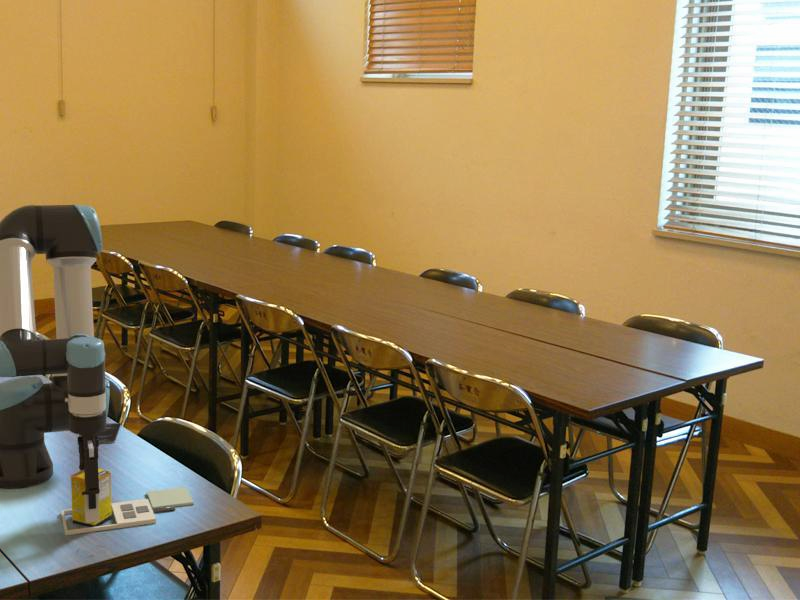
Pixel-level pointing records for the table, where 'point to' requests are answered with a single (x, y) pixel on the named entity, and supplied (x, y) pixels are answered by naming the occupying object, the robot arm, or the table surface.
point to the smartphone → (108, 433)
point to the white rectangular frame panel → (123, 516)
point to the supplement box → (79, 499)
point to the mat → (170, 497)
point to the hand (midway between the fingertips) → (89, 512)
